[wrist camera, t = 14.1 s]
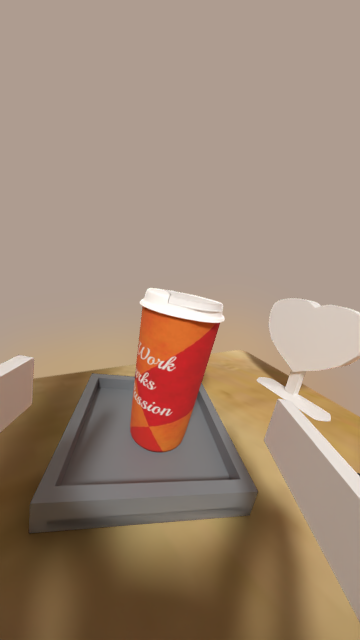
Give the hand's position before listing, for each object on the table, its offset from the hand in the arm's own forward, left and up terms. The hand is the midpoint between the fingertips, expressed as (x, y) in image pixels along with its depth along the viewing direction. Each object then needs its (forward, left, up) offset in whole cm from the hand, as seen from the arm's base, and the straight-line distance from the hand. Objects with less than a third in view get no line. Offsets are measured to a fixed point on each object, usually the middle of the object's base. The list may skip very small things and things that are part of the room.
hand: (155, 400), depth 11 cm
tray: (+2, +9, -11) cm, 14 cm away
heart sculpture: (+29, +19, -11) cm, 36 cm away
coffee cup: (+2, +9, -10) cm, 14 cm away
